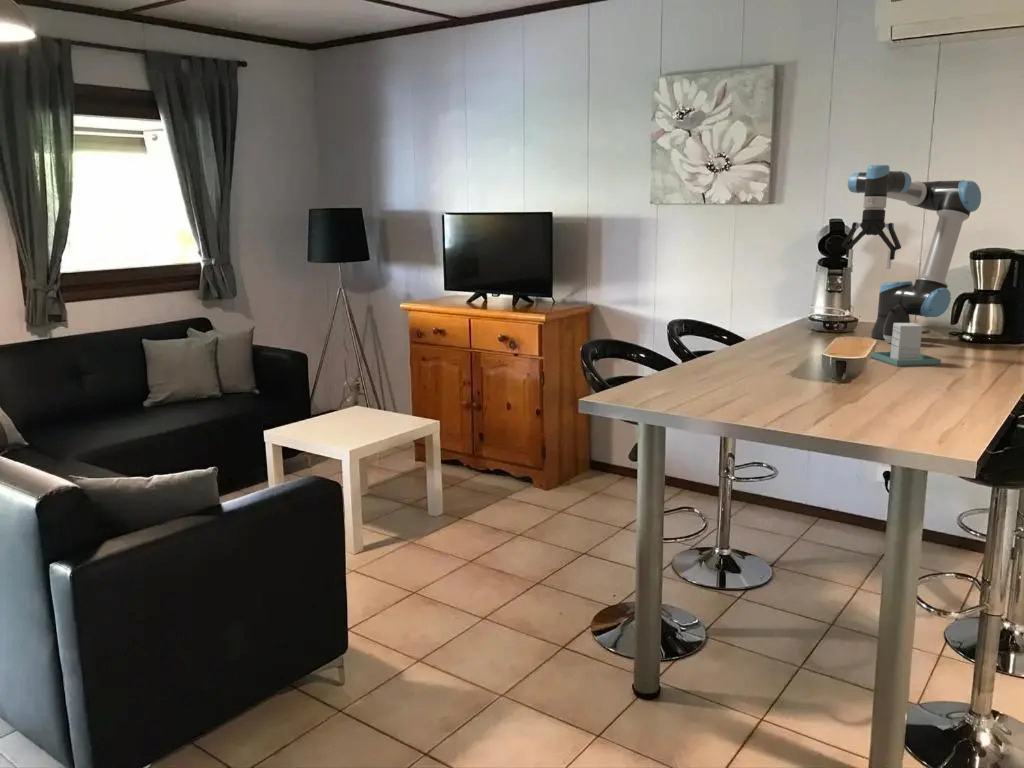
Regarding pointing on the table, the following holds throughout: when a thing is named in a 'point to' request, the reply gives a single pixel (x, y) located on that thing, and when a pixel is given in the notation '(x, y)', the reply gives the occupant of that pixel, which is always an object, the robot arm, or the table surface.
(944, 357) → the table surface
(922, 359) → the tray
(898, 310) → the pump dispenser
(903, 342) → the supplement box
